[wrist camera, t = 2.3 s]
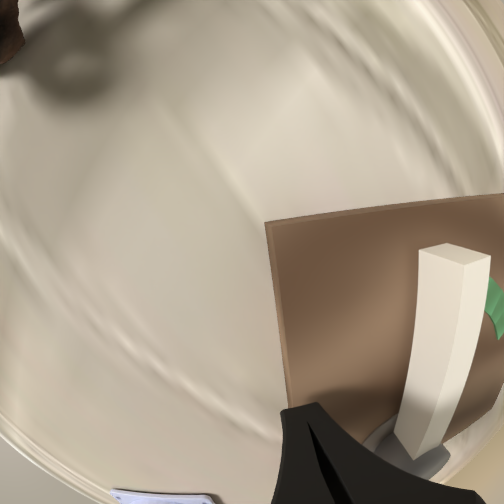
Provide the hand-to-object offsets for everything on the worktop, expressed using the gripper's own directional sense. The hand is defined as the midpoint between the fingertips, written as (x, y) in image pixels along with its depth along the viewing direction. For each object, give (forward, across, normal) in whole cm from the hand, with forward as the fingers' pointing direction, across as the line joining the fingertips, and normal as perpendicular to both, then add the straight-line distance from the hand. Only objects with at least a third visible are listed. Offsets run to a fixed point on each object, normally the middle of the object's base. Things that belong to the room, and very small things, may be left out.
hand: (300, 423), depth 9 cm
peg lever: (+1, -6, +1) cm, 6 cm away
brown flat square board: (+3, -9, +2) cm, 10 cm away
